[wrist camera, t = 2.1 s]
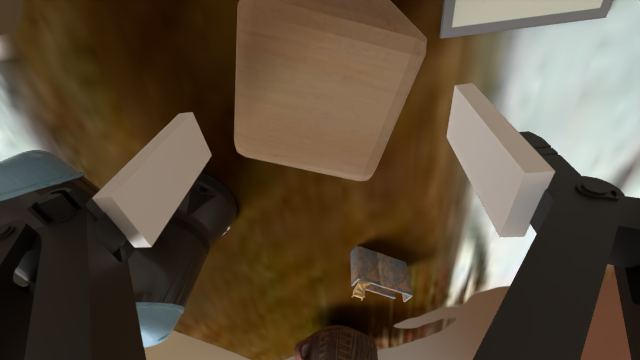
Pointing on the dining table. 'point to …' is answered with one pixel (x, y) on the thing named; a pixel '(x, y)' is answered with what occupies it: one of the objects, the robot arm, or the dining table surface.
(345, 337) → the vase
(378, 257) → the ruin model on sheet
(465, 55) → the dining table surface
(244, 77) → the wooden block
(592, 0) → the mat
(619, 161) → the dining table surface
